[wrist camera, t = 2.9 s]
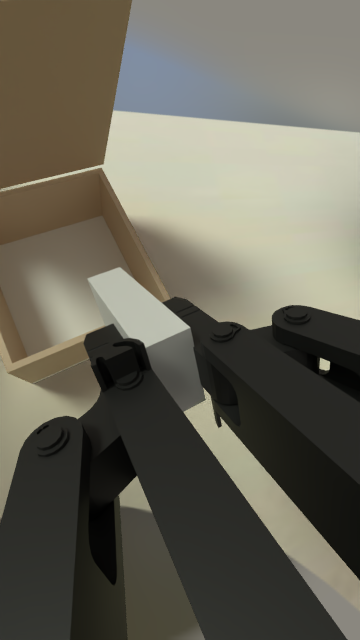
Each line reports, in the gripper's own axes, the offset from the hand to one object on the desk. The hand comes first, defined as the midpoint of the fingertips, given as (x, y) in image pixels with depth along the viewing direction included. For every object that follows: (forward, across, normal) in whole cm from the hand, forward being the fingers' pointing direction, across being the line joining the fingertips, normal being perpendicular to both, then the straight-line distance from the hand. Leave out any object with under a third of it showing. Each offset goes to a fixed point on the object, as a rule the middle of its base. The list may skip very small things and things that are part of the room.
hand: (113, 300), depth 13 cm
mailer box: (+25, -1, -8) cm, 26 cm away
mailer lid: (+16, -1, +9) cm, 19 cm away
